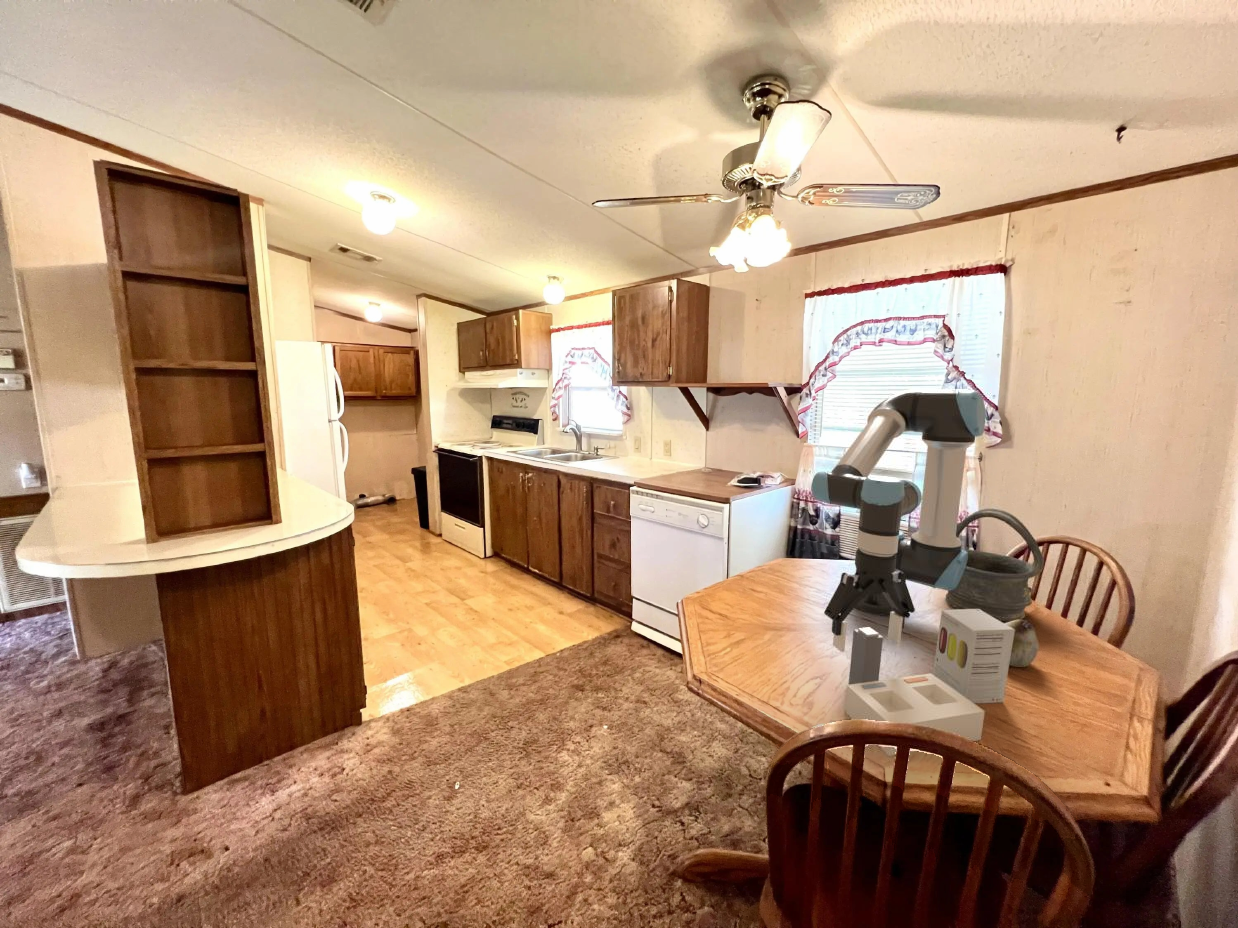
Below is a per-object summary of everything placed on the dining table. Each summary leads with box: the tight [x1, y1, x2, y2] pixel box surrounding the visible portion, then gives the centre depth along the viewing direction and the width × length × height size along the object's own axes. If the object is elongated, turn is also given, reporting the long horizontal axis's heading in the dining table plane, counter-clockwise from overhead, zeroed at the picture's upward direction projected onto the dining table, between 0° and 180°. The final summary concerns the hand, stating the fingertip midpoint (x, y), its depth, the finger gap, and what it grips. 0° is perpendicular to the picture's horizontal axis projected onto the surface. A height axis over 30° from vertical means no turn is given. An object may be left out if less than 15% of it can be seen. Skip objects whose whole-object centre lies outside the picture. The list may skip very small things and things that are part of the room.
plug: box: [848, 626, 884, 685], centre depth 104 cm, size 4×4×14 cm
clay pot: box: [945, 508, 1045, 622], centre depth 141 cm, size 22×23×30 cm
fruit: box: [1003, 619, 1040, 668], centre depth 114 cm, size 10×9×12 cm
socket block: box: [844, 673, 986, 757], centre depth 93 cm, size 20×12×6 cm, turn 102°
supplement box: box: [932, 608, 1015, 705], centre depth 103 cm, size 10×9×17 cm
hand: (866, 645), depth 103 cm, fingers open, 13 cm apart
